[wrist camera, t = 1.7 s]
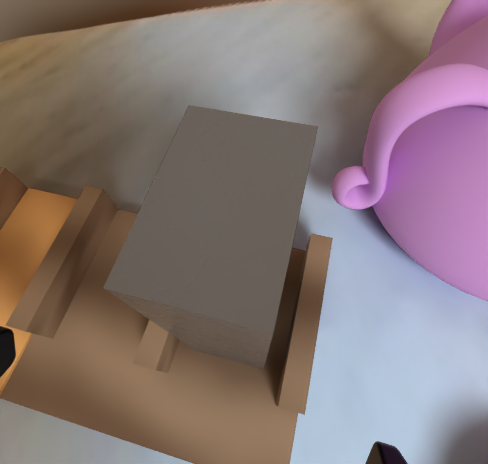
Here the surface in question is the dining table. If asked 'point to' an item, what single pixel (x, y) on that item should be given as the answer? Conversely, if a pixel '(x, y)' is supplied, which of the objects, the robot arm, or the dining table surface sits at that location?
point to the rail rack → (141, 340)
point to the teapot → (434, 155)
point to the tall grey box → (218, 232)
